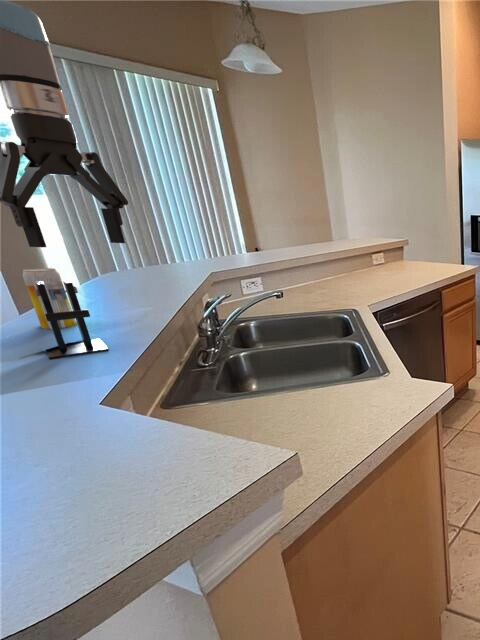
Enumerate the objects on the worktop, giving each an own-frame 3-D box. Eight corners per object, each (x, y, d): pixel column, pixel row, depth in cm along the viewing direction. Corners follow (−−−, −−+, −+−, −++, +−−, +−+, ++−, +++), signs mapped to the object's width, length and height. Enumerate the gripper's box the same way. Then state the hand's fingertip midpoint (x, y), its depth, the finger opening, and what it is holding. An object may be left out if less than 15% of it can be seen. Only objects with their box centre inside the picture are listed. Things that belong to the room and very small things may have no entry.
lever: (91, 320, 87) (88, 309, 86) (48, 325, 83) (44, 313, 81) (76, 291, 92) (73, 281, 91) (36, 294, 88) (32, 283, 87)
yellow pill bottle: (77, 328, 112) (57, 267, 107) (78, 332, 108) (57, 270, 103) (43, 331, 108) (21, 269, 103) (43, 336, 104) (20, 271, 99)
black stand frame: (110, 354, 93) (87, 283, 88) (50, 363, 87) (22, 287, 82) (101, 343, 100) (80, 277, 95) (45, 351, 94) (19, 280, 89)
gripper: (-42, 97, 64) (14, 250, 71) (131, 129, 87) (159, 242, 94) (-79, 98, 65) (-21, 248, 73) (100, 129, 88) (131, 240, 96)
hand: (81, 245), depth 84 cm, fingers open, 13 cm apart
